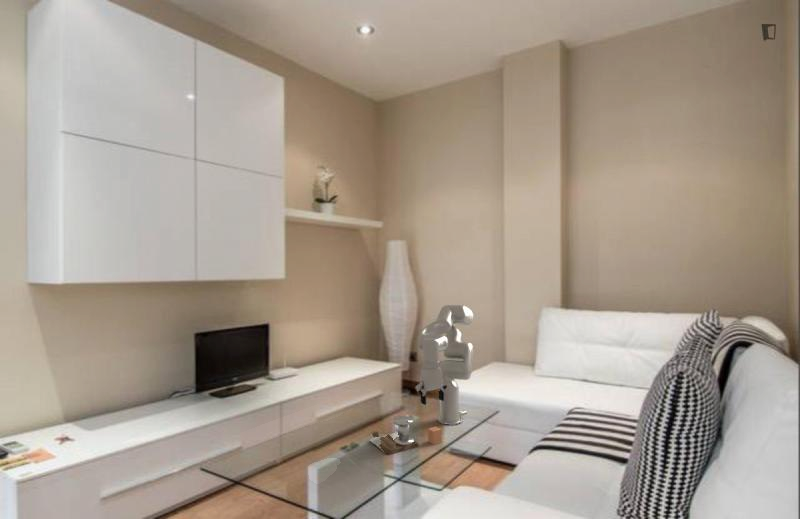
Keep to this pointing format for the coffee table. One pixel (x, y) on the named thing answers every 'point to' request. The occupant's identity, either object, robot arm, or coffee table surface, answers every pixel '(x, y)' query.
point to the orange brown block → (434, 435)
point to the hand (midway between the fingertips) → (432, 402)
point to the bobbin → (403, 431)
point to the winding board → (398, 448)
